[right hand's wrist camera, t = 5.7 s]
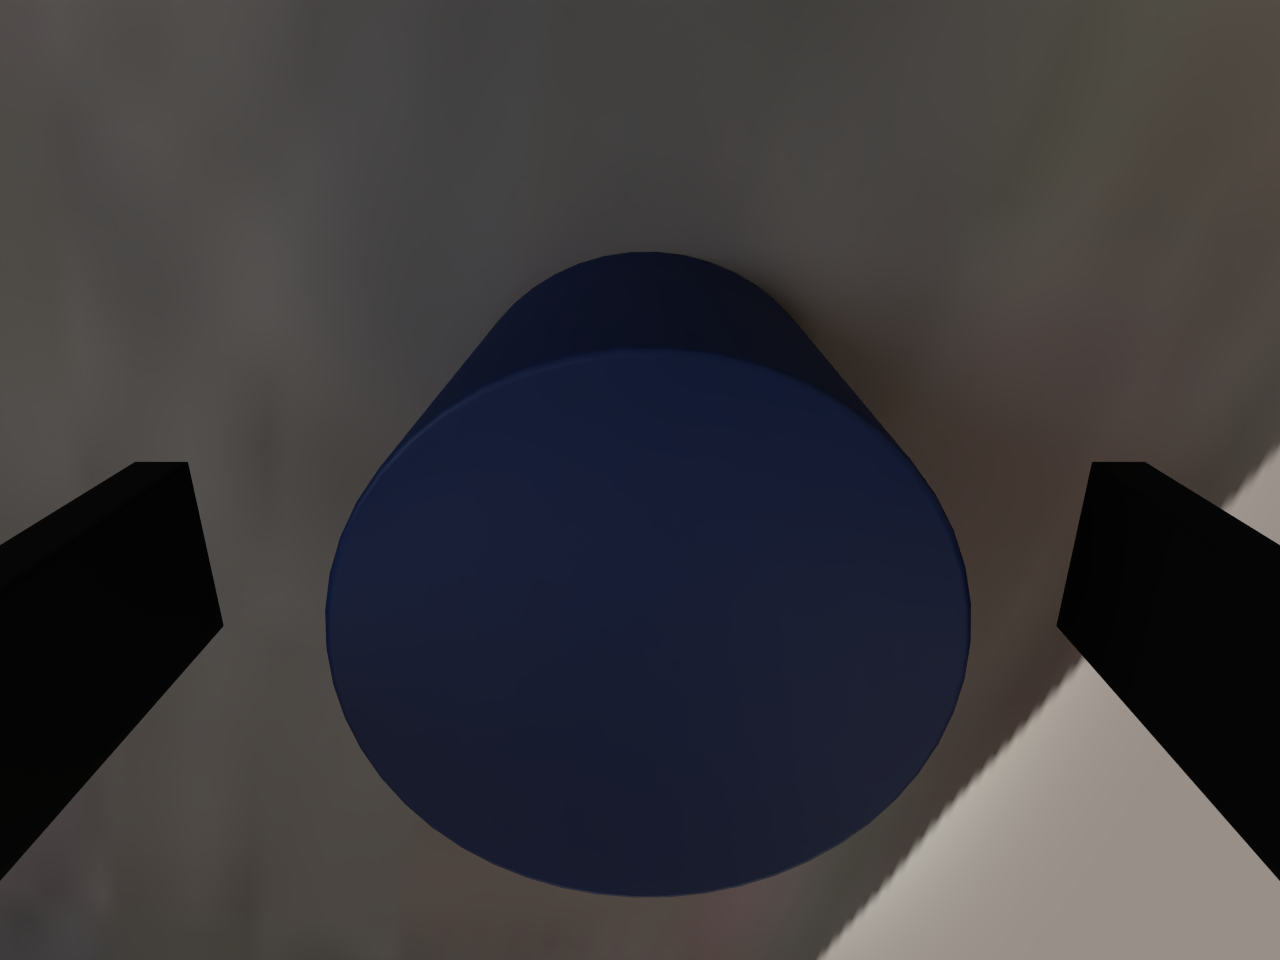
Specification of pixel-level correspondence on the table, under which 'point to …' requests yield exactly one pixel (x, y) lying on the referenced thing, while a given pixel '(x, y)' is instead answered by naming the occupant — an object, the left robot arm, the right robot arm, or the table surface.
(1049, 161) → the table surface
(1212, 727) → the right robot arm
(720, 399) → the canister
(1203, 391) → the table surface
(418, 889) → the table surface
